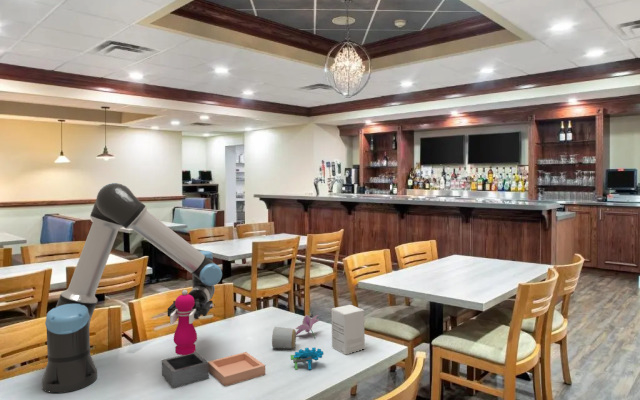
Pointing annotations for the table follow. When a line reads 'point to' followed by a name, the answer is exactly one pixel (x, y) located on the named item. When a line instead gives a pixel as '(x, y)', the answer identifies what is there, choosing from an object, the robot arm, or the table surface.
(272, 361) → the table surface
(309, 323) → the lily
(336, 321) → the supplement box
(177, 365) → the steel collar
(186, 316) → the pepper mill
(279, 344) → the ceramic mug
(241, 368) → the terracotta tray
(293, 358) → the blue bumpy piece
